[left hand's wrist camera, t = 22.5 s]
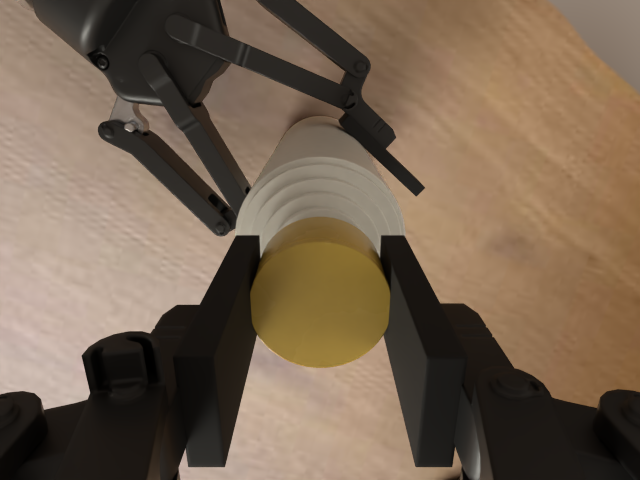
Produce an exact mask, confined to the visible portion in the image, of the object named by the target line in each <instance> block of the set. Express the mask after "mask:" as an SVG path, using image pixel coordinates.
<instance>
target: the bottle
mask: <svg viewBox="0 0 640 480" xmlns="http://www.w3.org/2000/svg"><path fill="white" fill-rule="evenodd" d="M310 217H331V218H336V219H340V220H343V221H345V222H348V223H350V224H352V225H353V226H355V227H357V228H358V229H359V230H361V231H362V232H363V233H364V234H365V235H366V236H367V237H368V238H369V239H370V240H371V242H372V243H373V244H374V246H375V248H376V250H377V252H378V254H379V257H380V245H381V235H404V236H405V225H404V219H403V216H402V212H401V209H400V207H399V205H398V202H397V200H396V199H395V197H394V195H393V194H392V192H391V191H390V189H389V187H388V186H387V184H386V182H385V181H384V179H383V178H382V176H381V174H380V173H379V171H378V170H377V168H376V166H375V165H374V163H373V161H372V160H371V158H370V157H369V155H368V153H367V152H366V150H365V148H364V147H363V146H362V145H361V144H360V143H359V142H358V141H357V140H356V139H355V138H353V137H352V136H351V135H350V134H349V133H348V132H347V131H346V130H345V129H344V128H343V127H342V126H341V125H340V123H339V121H338V119H335V118H332V117H327V116H313V117H308V118H305V119H303V120H301V121H299V122H297V123H296V124H294V125H293V126H292V127H291V128H290V129H289V130H288V131H287V132H286V133H285V134H284V136H283V138H282V139H281V141H280V143H279V144H278V146H277V147H276V149H275V151H274V152H273V154H272V156H271V157H270V159H269V161H268V162H267V164H266V165H265V167H264V169H263V170H262V172H261V174H260V175H259V177H258V178H257V180H256V182H255V183H254V185H253V187H252V188H251V190H250V192H249V193H248V195H247V196H246V198H245V200H244V202H243V204H242V206H241V208H240V211H239V214H238V218H237V222H236V229H235V237H236V235H259V236H260V255H261V256H262V253H263V251H264V249H265V247H266V245H267V244H268V242H269V241H270V240H271V239H272V237H273V236H274V235H275V234H276V233H277V232H278V231H280V230H281V229H283V228H284V227H285V226H287V225H289V224H291V223H293V222H295V221H298V220H301V219H305V218H310Z"/></svg>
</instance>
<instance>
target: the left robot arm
mask: <svg viewBox="0 0 640 480" xmlns="http://www.w3.org/2000/svg"><path fill="white" fill-rule="evenodd" d="M260 259H261V255H260V236H259V235H236V237H235V239H234V241H233V242H232V244H231V246H230V248H229V250H228V252H227V254H226V256H225V258H224V260H223V262H222V263H221V265H220V267H219V269H218V271H217V273H216V275H215V277H214V279H213V281H212V283H211V284H210V286H209V288H208V290H207V292H206V294H205V296H204V298H203V300H202V302H201V303H200V305H176V306H175V307H173V308H172V309H171V310H169V311H168V312H166V313H165V314H163V315H162V317H161V318H160V320H159V321H158V323H157V324H156V326H155V329H153V330H152V332H151V334H150V333H146V332H142V331H129V332H124V333H119V334H114V335H111V336H109V337H106V338H104V339H101V340H99V341H98V342H96V343H95V344H93V345H91V346H90V347H89V348H88V349H87V350H86V351H85V352H84V353H83V355H82V359H83V363H84V368H85V372H86V376H87V381H88V385H89V389H90V395H89V398H88V400H85V401H81V402H78V403H74V404H69V405H65V406H60V407H55V408H51V409H46V410H44V409H43V405H42V402H41V399H40V398H39V397H38V396H37V395H36V394H35V393H30V392H25V391H20V392H10V393H5V394H1V395H0V480H180V475H179V468H178V467H179V465H180V462H181V459H182V456H183V454H184V451H185V448H186V454H187V461H188V467H225V464H226V460H227V456H228V452H229V448H230V444H231V440H232V435H233V431H234V427H235V423H236V419H237V415H238V411H239V407H240V402H241V398H242V394H243V390H244V386H245V382H246V378H247V374H248V370H249V365H250V361H251V357H252V353H253V349H254V345H255V341H256V337H257V333H256V331H255V329H254V327H253V325H252V315H251V300H250V290H251V287H252V284H253V280H254V277H255V274H256V271H257V268H258V265H259V262H260ZM380 260H381V263H382V266H383V269H384V272H385V275H386V278H387V281H388V284H389V287H390V307H389V322H388V327H387V329H386V331H385V333H384V334H383V335H384V339H385V343H386V347H387V351H388V355H389V359H390V363H391V368H392V372H393V376H394V380H395V384H396V388H397V392H398V396H399V401H400V405H401V409H402V413H403V417H404V421H405V425H406V429H407V433H408V438H409V442H410V446H411V450H412V454H413V458H414V462H415V466H416V467H452V464H453V457H454V451H455V447H456V450H457V453H458V455H459V458H460V461H461V464H462V468H461V475H460V478H459V479H455V480H640V392H636V391H630V390H620V389H617V390H612V391H607V392H606V393H605V394H603V395H602V396H601V397H600V401H599V404H598V408H594V407H589V406H585V405H580V404H575V403H571V402H566V401H562V400H559V399H555V398H552V397H551V395H550V392H549V391H548V390H547V388H546V387H545V385H544V384H543V383H542V382H540V381H539V380H538V379H536V378H535V377H534V376H532V375H530V374H528V373H526V372H524V371H521V370H519V369H515V368H514V367H513V366H512V364H511V363H510V361H509V360H508V358H507V357H506V355H505V353H504V352H503V350H502V349H501V347H500V346H499V344H498V343H497V341H496V340H495V338H494V337H492V334H491V332H490V331H489V329H488V328H486V325H485V323H484V322H483V320H482V319H481V317H480V316H479V314H478V313H477V312H475V311H474V310H472V309H471V308H469V307H468V306H466V305H465V304H440V302H439V301H438V299H437V297H436V295H435V293H434V291H433V289H432V287H431V285H430V283H429V282H428V280H427V278H426V276H425V274H424V272H423V270H422V268H421V266H420V264H419V262H418V261H417V259H416V257H415V255H414V253H413V251H412V249H411V247H410V245H409V243H408V242H407V240H406V238H405V236H404V235H381V245H380Z"/></svg>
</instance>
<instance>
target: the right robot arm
mask: <svg viewBox="0 0 640 480" xmlns="http://www.w3.org/2000/svg"><path fill="white" fill-rule="evenodd" d="M16 1H17V2H18V3H19V4H20V5H22V6H23V7H24V8H26V9H29V10H31V11H35V14H36V16H37V17H38V19H39V20H40V21H41V22H42V23H43V24H45V25H46V26H47V27H48V28H50V29H51V30H52V31H53V32H54V33H55V34H57V35H58V36H59V37H60V38H61V39H63V40H64V41H65V42H66V43H67V44H69V45H70V46H71V47H72V48H73V49H75V50H76V51H77V52H78V53H79V54H81V55H82V56H83V57H84V58H85V59H87V60H88V61H89V62H90V63H91V64H93V65H94V66H95V67H97V68H98V69H99V70H100V71H102V72H103V73H104V75H105V76H106V77H107V79H108V80H109V82H110V84H111V86H112V88H113V90H114V92H115V93H116V94H117V95H118V96H117V99H116V102H115V105H114V108H113V110H112V113H111V116H110V119H109V121H105V122H102V123H101V124H100V125H99V127H98V133H99V135H100V137H101V138H102V139H103V140H105V141H106V142H108V143H110V144H112V145H114V146H116V147H118V148H120V149H122V150H124V151H126V152H128V153H130V154H132V155H133V156H134V157H135V158H136V159H137V160H138V161H139V162H140V163H141V164H142V165H143V166H144V167H145V168H146V169H148V170H149V171H150V172H151V173H152V174H153V175H154V176H155V177H156V178H157V179H158V180H159V181H160V182H161V183H162V184H163V185H164V186H165V187H166V188H167V189H168V190H169V191H170V192H171V193H172V194H173V195H175V196H176V197H177V198H178V199H179V200H180V201H181V202H182V203H183V204H184V205H185V206H186V207H187V208H188V209H189V210H190V211H191V212H192V213H193V214H194V215H195V216H196V217H197V218H198V219H199V220H200V221H202V222H203V223H204V224H205V225H206V226H207V227H208V228H209V229H210V230H211V231H212V232H213V233H214V234H215V235H217V236H225V235H227V234H228V232H230V231H232V230H233V229H235V228H236V222H237V218H238V214H239V211H240V208H241V206H242V204H243V202H244V200H245V198H246V196H247V195H248V193H249V192H250V190H251V186H250V184H249V183H248V181H247V179H246V178H245V176H244V174H243V173H242V171H241V169H240V168H239V166H238V164H237V163H236V161H235V159H234V158H233V156H232V154H231V153H230V151H229V149H228V148H227V146H226V144H225V143H224V141H223V139H222V138H221V136H220V134H219V133H218V131H217V129H216V128H215V126H214V124H213V123H212V121H211V119H210V116H209V113H208V111H207V109H206V107H205V106H204V104H203V102H202V101H203V99H204V98H205V97H206V95H207V94H208V93H209V90H210V88H211V85H212V83H213V81H214V79H216V78H217V77H219V76H220V75H221V74H223V73H224V72H225V71H226V69H227V68H228V67H229V65H230V64H231V63H233V64H236V65H239V66H241V67H244V68H246V69H249V70H251V71H253V72H256V73H258V74H260V75H263V76H265V77H268V78H270V79H272V80H275V81H277V82H279V83H282V84H284V85H286V86H289V87H291V88H293V89H296V90H298V91H301V92H303V93H305V94H308V95H310V96H312V97H315V98H317V99H319V100H322V101H324V102H327V103H329V104H331V105H334V106H336V107H338V108H341V109H342V110H343V111H344V112H345V113H344V115H343V116H342V117H341V118H340V119H339V120H338V121H339V123H340V125H341V126H342V127H343V128H344V129H345V130H346V131H347V132H348V133H349V134H350V135H351V136H352V137H353V138H355V139H356V140H357V141H358V142H359V143H360V144H361V145H362V146H363V147H364V148H365V149H366V150H367V151H368V152H369V153H371V154H372V155H373V156H374V157H375V158H376V159H377V160H378V161H379V162H380V163H381V164H382V165H383V166H384V167H385V168H386V169H388V170H389V171H390V172H391V173H392V174H393V175H394V176H395V177H396V178H397V179H398V180H399V181H400V182H401V183H402V184H403V185H405V186H406V187H407V188H408V189H409V190H410V191H411V192H412V193H413V194H414V195H415V196H417V195H418V194H419V193H420V192H421V191H422V190H423V189H424V188H425V187H424V186H423V185H422V184H421V183H420V182H419V181H418V180H417V179H416V178H415V177H414V176H413V175H412V174H411V173H410V172H409V171H408V170H407V169H406V168H405V167H404V166H403V165H402V164H401V163H400V162H399V161H397V160H396V159H395V158H394V157H393V156H392V155H391V154H390V153H389V152H388V151H387V150H386V148H387V147H388V146H389V145H390V144H391V143H392V142H393V140H394V139H395V138H396V136H395V134H394V131H393V129H392V128H391V127H390V126H389V125H388V124H387V123H386V122H385V121H384V120H383V119H381V118H380V117H379V116H378V115H377V114H376V113H375V112H374V111H373V110H372V109H371V108H370V107H369V106H368V105H367V104H366V103H365V102H364V100H363V99H362V95H361V89H362V86H363V84H364V81H365V79H366V77H367V74H368V73H369V71H370V66H371V65H370V61H369V60H368V58H367V57H366V56H364V55H363V54H362V53H361V52H359V51H358V50H357V49H356V48H354V47H353V46H352V45H351V44H349V43H348V42H347V41H346V40H344V39H343V38H342V37H341V36H339V35H338V34H337V33H336V32H334V31H333V30H332V29H331V28H329V27H328V26H327V25H326V24H324V23H323V22H322V21H321V20H319V19H318V18H317V17H316V16H314V15H313V14H312V13H311V12H309V11H308V10H307V9H306V8H304V7H303V6H302V5H301V4H299V3H298V2H297V1H296V0H256V1H257V2H258V3H259V4H260V5H261V6H263V7H264V8H265V9H266V10H267V11H269V12H270V13H271V14H272V15H274V16H275V17H276V18H278V19H279V20H280V21H281V22H283V23H284V24H285V25H287V26H288V27H289V28H290V29H292V30H293V31H294V32H295V33H297V34H298V35H299V36H301V37H302V38H303V39H304V40H306V41H307V42H308V43H309V44H311V45H312V46H313V47H315V48H316V49H317V50H318V51H320V52H321V53H322V54H324V55H325V56H326V57H327V58H329V59H330V60H331V61H332V62H334V63H335V64H336V65H338V66H339V67H340V68H341V69H343V70H344V71H345V73H344V75H343V78H342V80H341V83H340V84H338V83H335V82H333V81H331V80H328V79H326V78H324V77H321V76H319V75H317V74H314V73H312V72H310V71H307V70H305V69H303V68H301V67H298V66H296V65H294V64H291V63H289V62H287V61H284V60H282V59H280V58H277V57H275V56H273V55H270V54H268V53H266V52H263V51H261V50H259V49H256V48H254V47H252V46H250V45H247V44H245V43H243V42H240V41H238V40H236V39H233V38H231V37H229V33H228V29H227V25H226V21H225V17H224V14H223V10H222V6H221V2H220V0H16ZM139 104H147V105H156V106H164V107H165V108H166V110H167V112H168V113H169V115H170V116H171V118H172V120H173V121H174V123H175V124H176V126H177V127H178V128H179V129H180V130H182V131H183V132H184V134H185V135H186V137H187V138H188V140H189V142H190V143H191V145H192V146H193V148H194V150H195V151H196V153H197V154H198V156H199V158H200V159H201V161H202V162H203V164H204V165H205V167H206V169H207V170H208V172H209V173H210V175H211V177H212V178H213V180H214V181H215V183H216V185H217V186H218V188H219V189H220V191H221V193H222V194H223V196H224V197H225V199H226V201H227V202H228V204H229V205H230V207H229V206H228V205H227V204H226V203H225V202H224V201H223V200H222V199H221V198H220V197H219V196H218V195H217V194H216V193H215V192H214V191H213V190H212V189H211V188H210V187H209V186H208V185H207V184H206V183H205V182H204V181H203V180H202V179H201V178H200V177H199V176H198V175H197V174H196V173H195V172H194V171H193V170H192V169H191V168H190V167H189V166H188V165H187V164H186V163H185V162H184V161H183V160H182V159H181V158H180V157H179V156H178V155H177V154H176V153H175V152H174V151H173V150H172V149H171V148H170V147H169V146H168V145H167V144H166V143H165V142H164V141H163V140H162V139H161V138H160V137H159V136H157V135H156V134H155V133H153V132H152V131H150V130H149V123H148V121H147V119H146V118H145V117H144V116H142V115H141V113H140V111H139Z"/></svg>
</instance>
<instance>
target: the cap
mask: <svg viewBox="0 0 640 480" xmlns="http://www.w3.org/2000/svg"><path fill="white" fill-rule="evenodd" d="M250 300H251V315H252V325H253V327H254V329H255V331H256V333H257V335H258V336H259V338H260V339H261V340H262V342H263V343H264V344H265V345H266V346H267V347H268V348H269V349H270V350H271V351H272V352H274V353H275V354H276V355H278V356H280V357H281V358H283V359H285V360H287V361H289V362H292V363H295V364H298V365H301V366H306V367H314V368H327V367H335V366H339V365H343V364H346V363H349V362H352V361H354V360H356V359H358V358H359V357H361V356H363V355H364V354H366V353H367V352H368V351H369V350H371V349H372V348H373V347H374V346H375V345H376V344H377V343H378V341H379V340H380V339H381V337H382V336H383V334H384V333H385V331H386V329H387V327H388V322H389V307H390V287H389V284H388V281H387V278H386V275H385V272H384V269H383V266H382V263H381V260H380V257H379V254H378V252H377V250H376V248H375V246H374V244H373V243H372V242H371V240H370V239H369V238H368V237H367V236H366V235H365V234H364V233H363V232H362V231H361V230H359V229H358V228H357V227H355V226H353V225H352V224H350V223H348V222H345V221H343V220H340V219H336V218H331V217H310V218H305V219H301V220H298V221H295V222H293V223H291V224H289V225H287V226H285V227H284V228H283V229H281V230H280V231H278V232H277V233H276V234H275V235H274V236H273V237H272V239H271V240H270V241H269V242H268V244H267V245H266V247H265V249H264V251H263V253H262V256H261V259H260V262H259V265H258V268H257V271H256V274H255V277H254V280H253V284H252V287H251V290H250Z"/></svg>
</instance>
